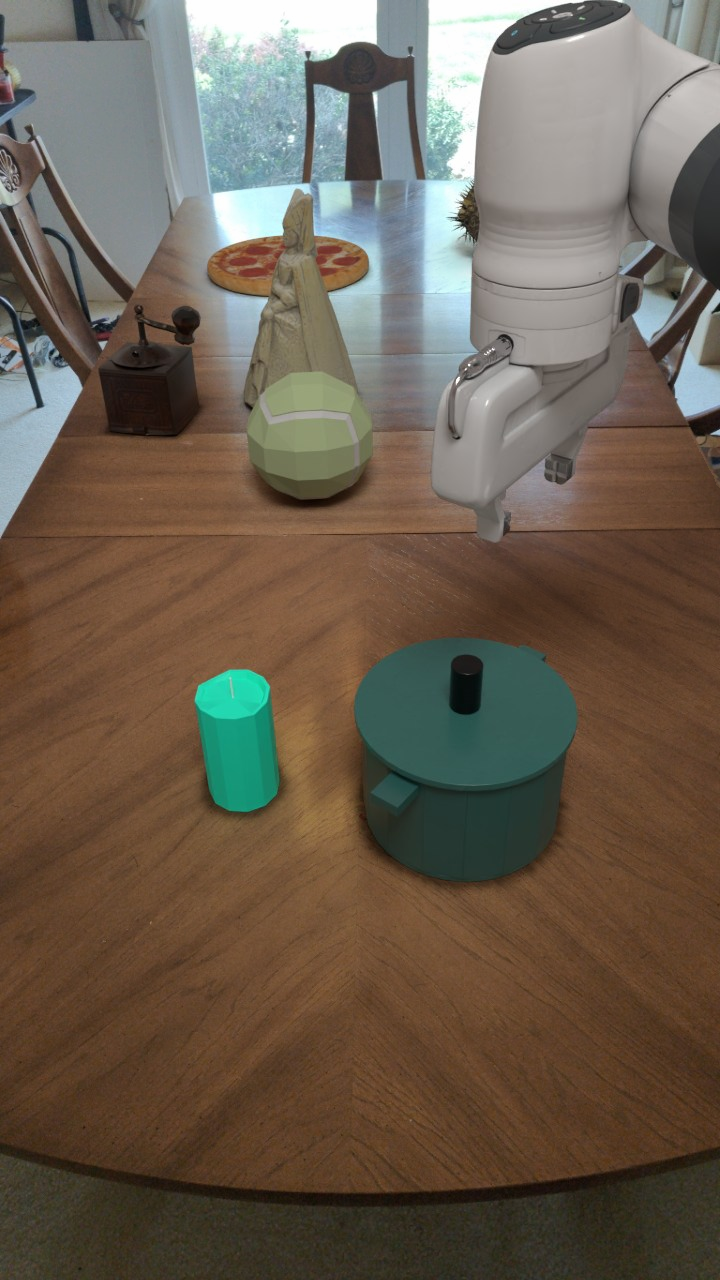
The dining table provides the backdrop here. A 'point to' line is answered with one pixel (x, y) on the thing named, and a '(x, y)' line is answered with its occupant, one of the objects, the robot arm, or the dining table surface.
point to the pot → (461, 820)
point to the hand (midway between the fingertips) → (527, 506)
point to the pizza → (257, 258)
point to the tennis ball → (310, 435)
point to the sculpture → (297, 313)
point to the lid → (465, 714)
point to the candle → (238, 739)
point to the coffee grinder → (152, 379)
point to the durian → (468, 215)
